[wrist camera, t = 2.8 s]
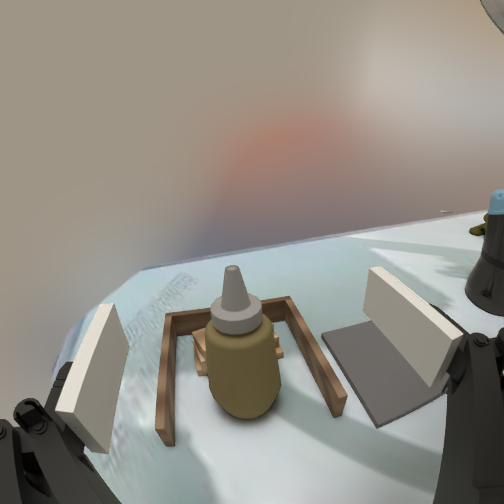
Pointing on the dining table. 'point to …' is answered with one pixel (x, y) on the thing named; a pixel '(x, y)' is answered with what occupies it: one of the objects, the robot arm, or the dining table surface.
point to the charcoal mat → (379, 373)
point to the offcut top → (203, 341)
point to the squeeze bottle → (241, 351)
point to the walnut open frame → (198, 320)
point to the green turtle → (480, 227)
